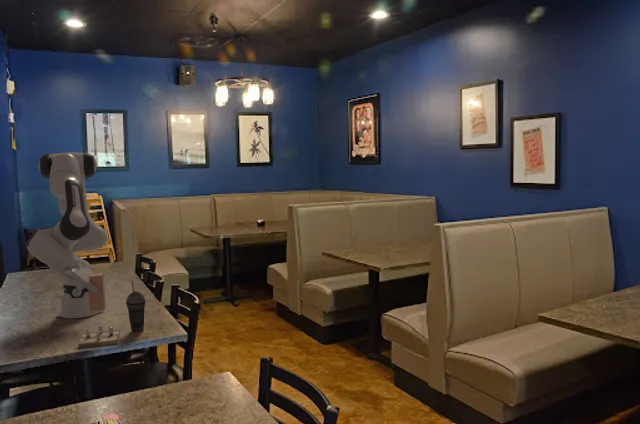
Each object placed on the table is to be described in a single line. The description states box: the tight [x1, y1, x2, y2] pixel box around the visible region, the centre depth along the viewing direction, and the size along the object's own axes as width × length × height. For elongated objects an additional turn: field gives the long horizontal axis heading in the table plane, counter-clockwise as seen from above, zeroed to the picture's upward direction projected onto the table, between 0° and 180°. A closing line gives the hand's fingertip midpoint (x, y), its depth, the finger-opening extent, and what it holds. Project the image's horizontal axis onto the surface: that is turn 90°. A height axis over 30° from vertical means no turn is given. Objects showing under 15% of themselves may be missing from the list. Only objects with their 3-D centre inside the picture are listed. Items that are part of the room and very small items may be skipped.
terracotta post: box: [88, 272, 107, 312], centre depth 194 cm, size 5×5×13 cm
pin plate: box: [78, 324, 121, 349], centre depth 196 cm, size 13×13×4 cm
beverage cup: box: [125, 280, 146, 334], centre depth 206 cm, size 7×7×20 cm
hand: (98, 289), depth 194 cm, fingers closed on terracotta post, 5 cm apart
